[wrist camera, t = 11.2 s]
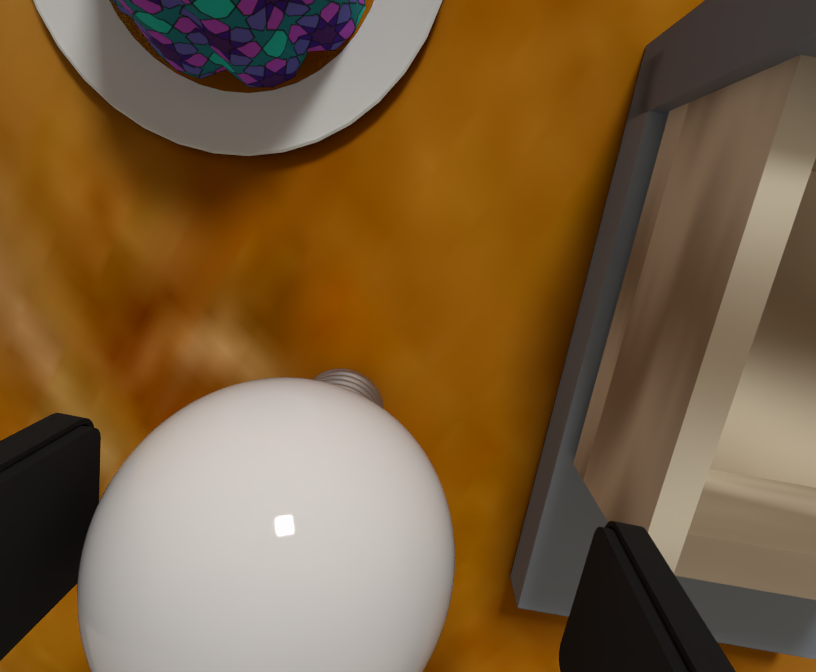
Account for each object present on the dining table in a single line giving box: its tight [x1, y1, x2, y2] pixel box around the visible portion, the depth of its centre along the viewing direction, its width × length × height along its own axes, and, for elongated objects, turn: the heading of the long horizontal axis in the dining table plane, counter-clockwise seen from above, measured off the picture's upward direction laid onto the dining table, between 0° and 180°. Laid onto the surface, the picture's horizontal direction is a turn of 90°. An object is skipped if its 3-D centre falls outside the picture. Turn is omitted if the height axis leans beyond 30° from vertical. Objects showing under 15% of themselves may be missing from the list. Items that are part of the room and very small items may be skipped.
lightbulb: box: [77, 369, 455, 672], centre depth 12 cm, size 6×6×11 cm
